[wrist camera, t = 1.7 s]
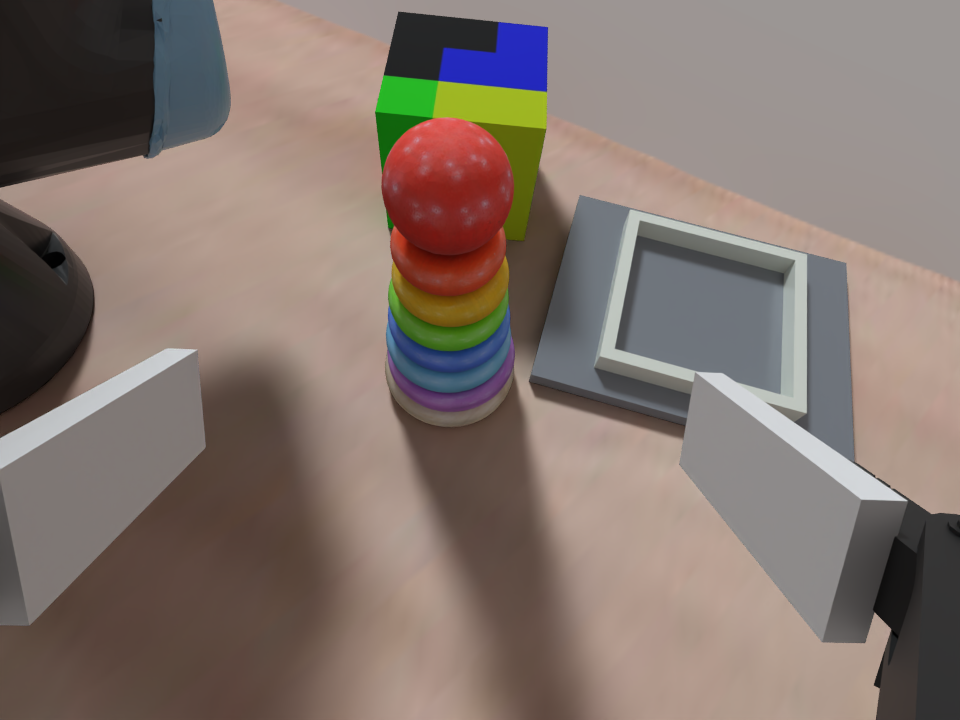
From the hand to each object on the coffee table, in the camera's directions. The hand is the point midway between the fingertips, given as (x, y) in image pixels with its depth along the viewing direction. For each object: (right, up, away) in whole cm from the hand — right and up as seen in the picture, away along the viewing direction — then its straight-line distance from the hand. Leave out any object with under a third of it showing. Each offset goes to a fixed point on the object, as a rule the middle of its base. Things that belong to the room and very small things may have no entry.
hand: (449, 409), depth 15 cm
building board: (+16, +4, +24) cm, 29 cm away
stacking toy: (-1, 0, +21) cm, 21 cm away
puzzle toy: (-1, +15, +29) cm, 33 cm away
